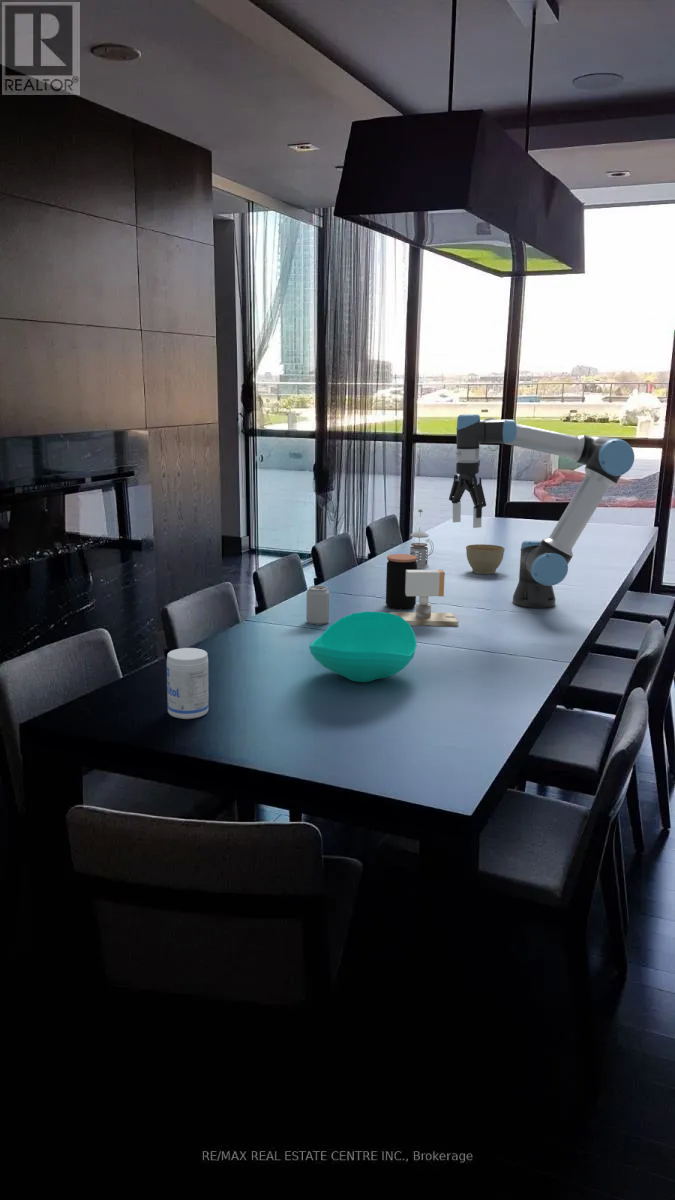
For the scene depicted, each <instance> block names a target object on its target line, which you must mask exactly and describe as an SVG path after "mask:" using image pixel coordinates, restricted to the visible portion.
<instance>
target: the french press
mask: <svg viewBox="0 0 675 1200" xmlns="http://www.w3.org/2000/svg"><path fill="white" fill-rule="evenodd" d="M418 512H419V516H422V515H421V513H423V509H421V508H419V509H418ZM429 536H430V534H428V533H426V532H425V531H421V528H419V530H418V531H414V532H412V533H409V537H412V538H418V542H411V543H410V545H411V546H410V549H409V555H414V556H417V560H416V563H417V569H428V568H430V565H429V564H428V562H429V561H428V557H429V556H430V555H432V554H433V553H434V550H433V549H434V543H433V541H432V540H431V539H429V538H428V537H429ZM421 538H423V539H424V538H428V539H426V541H425V542H426V543H424V542H421V541H420V539H421ZM427 543H429V545H430V552H429V548H428V547H427V546H428V544H427Z"/></svg>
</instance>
